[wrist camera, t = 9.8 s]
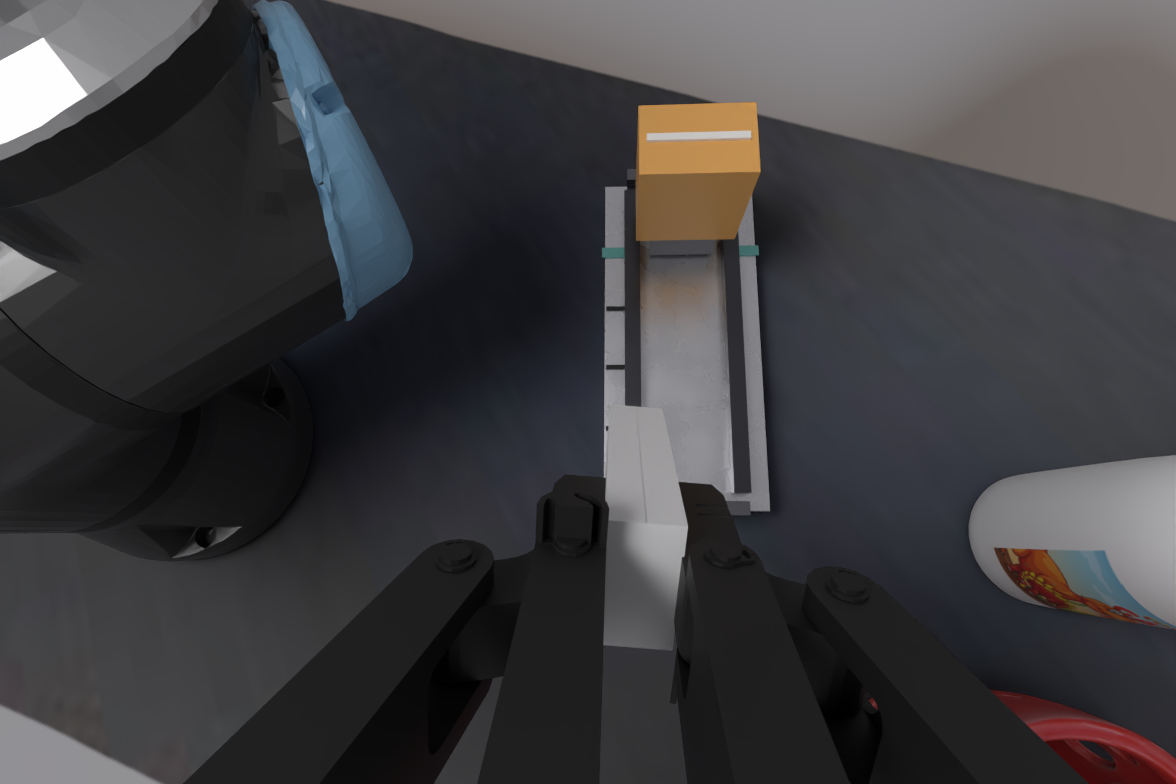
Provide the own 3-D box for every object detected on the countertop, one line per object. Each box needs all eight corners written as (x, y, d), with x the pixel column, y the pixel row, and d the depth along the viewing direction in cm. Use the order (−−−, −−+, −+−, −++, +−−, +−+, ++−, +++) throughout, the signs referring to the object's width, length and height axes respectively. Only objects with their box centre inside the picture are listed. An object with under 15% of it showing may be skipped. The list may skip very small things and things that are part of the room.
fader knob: (726, 260, 39) (761, 169, 29) (634, 262, 39) (639, 172, 29) (723, 206, 40) (757, 99, 30) (634, 207, 40) (638, 102, 30)
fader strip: (765, 516, 37) (780, 515, 34) (601, 515, 38) (599, 513, 34) (747, 195, 42) (759, 166, 39) (603, 198, 43) (601, 169, 40)
